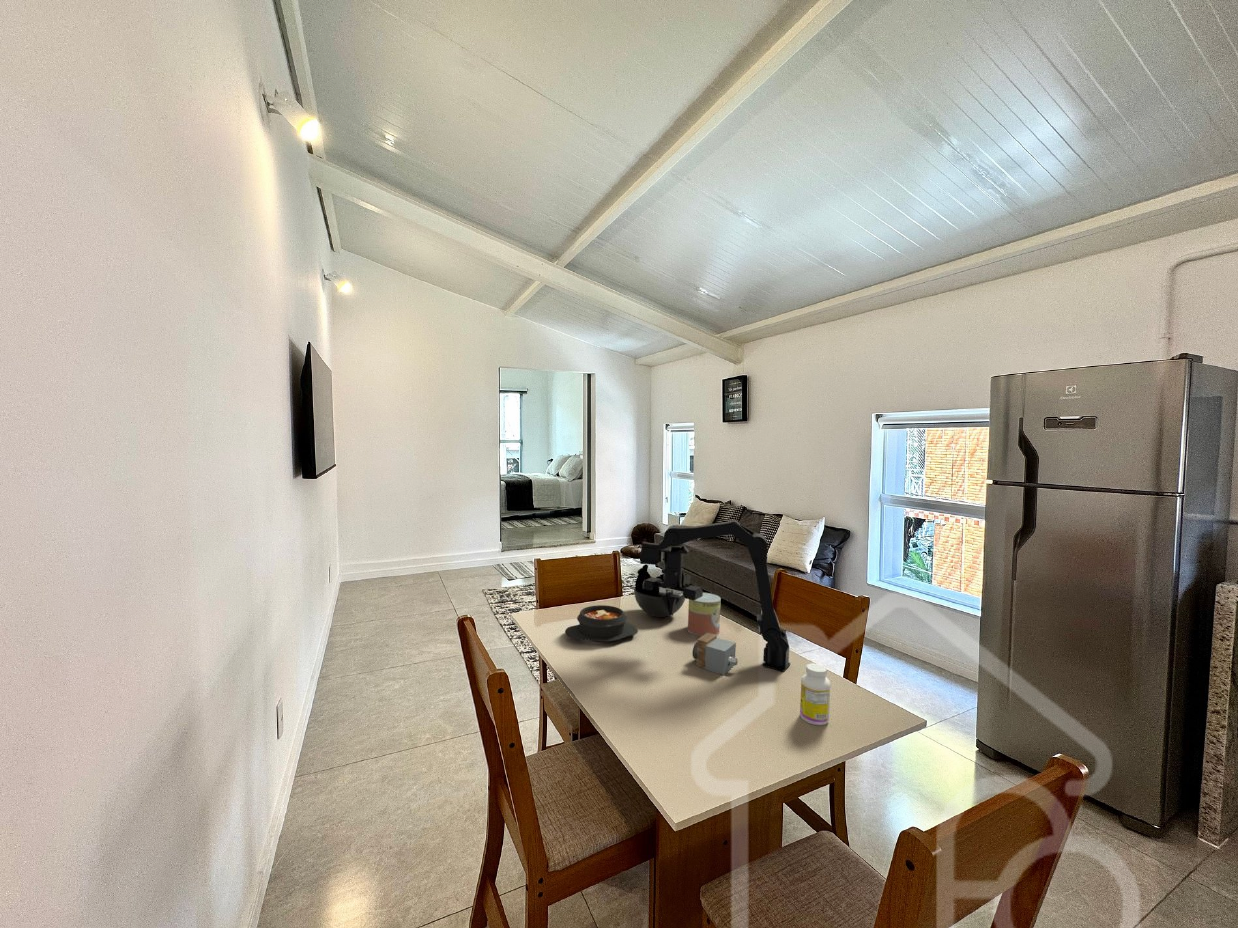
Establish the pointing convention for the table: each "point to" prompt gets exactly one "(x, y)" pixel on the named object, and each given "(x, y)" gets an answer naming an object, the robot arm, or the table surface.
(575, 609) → the table surface
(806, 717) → the supplement bottle
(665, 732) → the table surface
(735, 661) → the shaft
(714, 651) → the block
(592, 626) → the casserole
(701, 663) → the block
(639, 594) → the bowl of black rocks
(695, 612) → the canned food
